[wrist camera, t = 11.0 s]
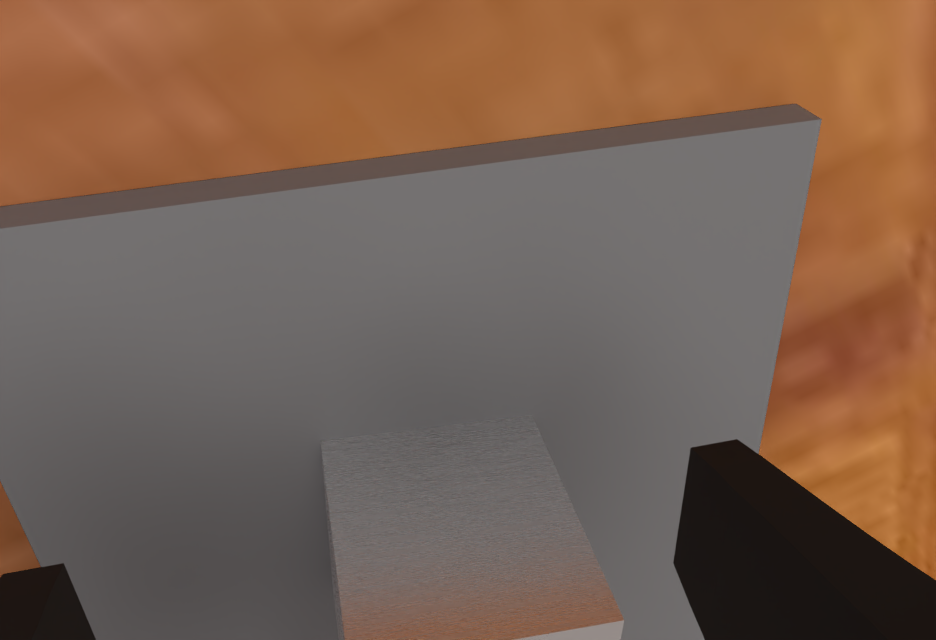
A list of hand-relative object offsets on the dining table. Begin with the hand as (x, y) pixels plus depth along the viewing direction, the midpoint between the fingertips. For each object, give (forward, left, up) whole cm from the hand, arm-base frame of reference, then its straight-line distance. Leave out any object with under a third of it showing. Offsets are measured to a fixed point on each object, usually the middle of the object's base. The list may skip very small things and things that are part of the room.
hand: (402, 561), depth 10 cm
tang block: (+1, -8, -9) cm, 12 cm away
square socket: (+1, -8, -8) cm, 11 cm away
